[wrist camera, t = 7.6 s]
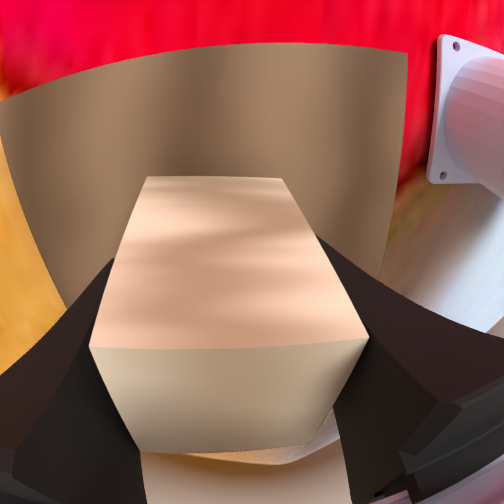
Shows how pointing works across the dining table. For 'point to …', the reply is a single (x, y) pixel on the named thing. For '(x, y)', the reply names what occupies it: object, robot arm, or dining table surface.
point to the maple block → (223, 319)
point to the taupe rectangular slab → (209, 143)
